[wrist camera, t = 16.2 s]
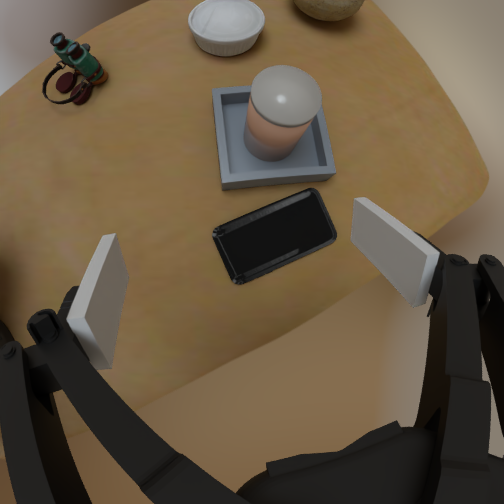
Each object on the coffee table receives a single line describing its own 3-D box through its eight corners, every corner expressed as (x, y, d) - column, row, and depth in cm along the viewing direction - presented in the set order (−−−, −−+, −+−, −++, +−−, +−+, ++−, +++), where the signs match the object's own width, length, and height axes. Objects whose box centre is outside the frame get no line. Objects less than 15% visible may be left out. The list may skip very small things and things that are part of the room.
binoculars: (14, 75, 27) (61, 21, 27) (49, 99, 38) (88, 53, 37) (40, 98, 28) (92, 38, 27) (77, 122, 38) (119, 72, 38)
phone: (209, 230, 38) (315, 185, 39) (209, 230, 39) (313, 187, 40) (235, 288, 38) (340, 240, 39) (234, 287, 39) (337, 240, 41)
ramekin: (183, 24, 39) (181, 4, 34) (247, 11, 40) (250, -9, 35) (200, 69, 39) (198, 49, 34) (270, 54, 40) (276, 34, 35)
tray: (222, 190, 39) (222, 182, 35) (212, 102, 39) (212, 88, 35) (325, 180, 40) (336, 173, 36) (309, 97, 40) (316, 84, 36)
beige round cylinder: (246, 164, 38) (256, 125, 26) (240, 116, 38) (247, 66, 26) (299, 159, 39) (328, 122, 27) (290, 113, 39) (314, 65, 27)
